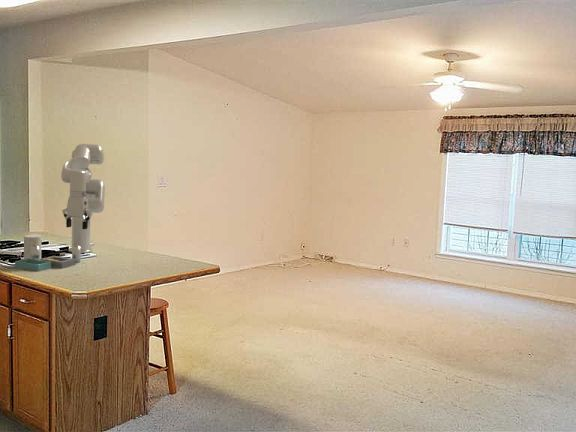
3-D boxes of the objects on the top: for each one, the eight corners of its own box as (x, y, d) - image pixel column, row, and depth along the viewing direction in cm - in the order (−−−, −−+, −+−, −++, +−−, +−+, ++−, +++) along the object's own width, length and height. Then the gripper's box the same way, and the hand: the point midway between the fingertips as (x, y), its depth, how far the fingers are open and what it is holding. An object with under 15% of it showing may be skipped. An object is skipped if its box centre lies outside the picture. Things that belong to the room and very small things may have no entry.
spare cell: (34, 261, 279) (35, 243, 278) (41, 262, 278) (41, 244, 277) (28, 262, 275) (29, 245, 274) (35, 263, 274) (35, 246, 273)
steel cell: (75, 261, 286) (75, 244, 285) (81, 262, 285) (82, 244, 284) (70, 262, 282) (70, 245, 281) (76, 263, 281) (77, 246, 280)
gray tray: (54, 261, 282) (54, 255, 281) (75, 264, 278) (75, 258, 278) (39, 265, 272) (39, 258, 272) (61, 268, 268) (61, 261, 268)
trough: (28, 264, 272) (28, 258, 272) (51, 267, 268) (51, 261, 268) (15, 267, 264) (15, 261, 264) (38, 271, 260) (38, 265, 260)
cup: (28, 261, 279) (29, 237, 277) (20, 258, 284) (20, 235, 282) (44, 259, 285) (44, 236, 284) (36, 256, 290) (36, 234, 289)
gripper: (96, 195, 280) (95, 229, 282) (68, 192, 286) (67, 225, 287) (87, 196, 273) (86, 230, 275) (58, 193, 278) (57, 227, 280)
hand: (76, 228), depth 281 cm, fingers open, 9 cm apart
